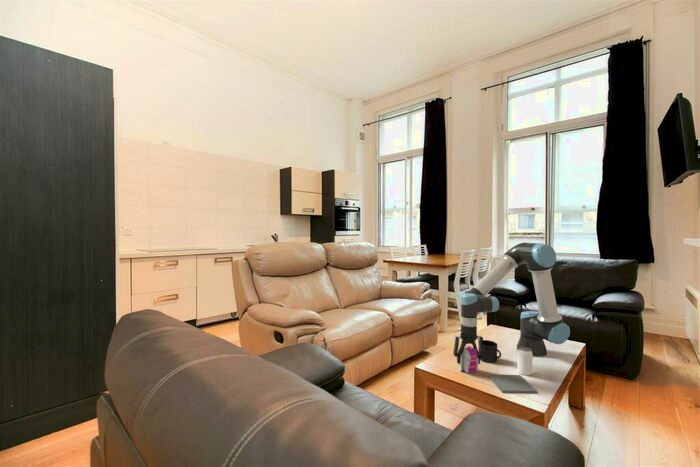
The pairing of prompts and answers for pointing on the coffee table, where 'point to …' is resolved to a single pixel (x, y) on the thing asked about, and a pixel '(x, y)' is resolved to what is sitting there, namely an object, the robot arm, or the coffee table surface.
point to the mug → (490, 351)
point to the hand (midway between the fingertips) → (468, 369)
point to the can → (524, 361)
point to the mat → (512, 384)
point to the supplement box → (469, 359)
